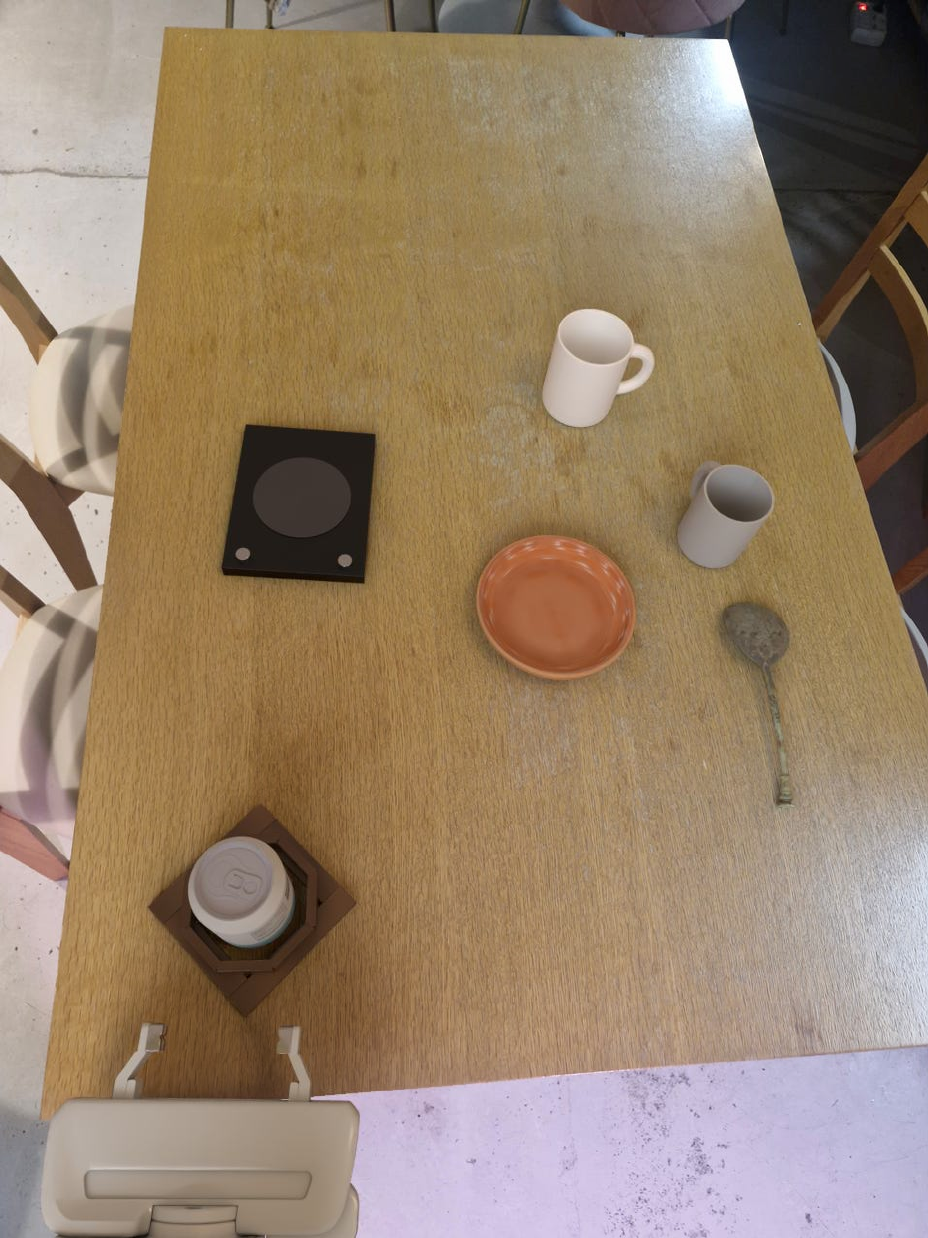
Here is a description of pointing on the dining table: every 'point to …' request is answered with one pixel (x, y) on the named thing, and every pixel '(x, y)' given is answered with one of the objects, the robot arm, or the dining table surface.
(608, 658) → the saucer
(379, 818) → the dining table surface
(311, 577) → the hob
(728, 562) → the cup
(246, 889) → the beverage can
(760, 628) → the soupspoon
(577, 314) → the mug
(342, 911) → the can holder
